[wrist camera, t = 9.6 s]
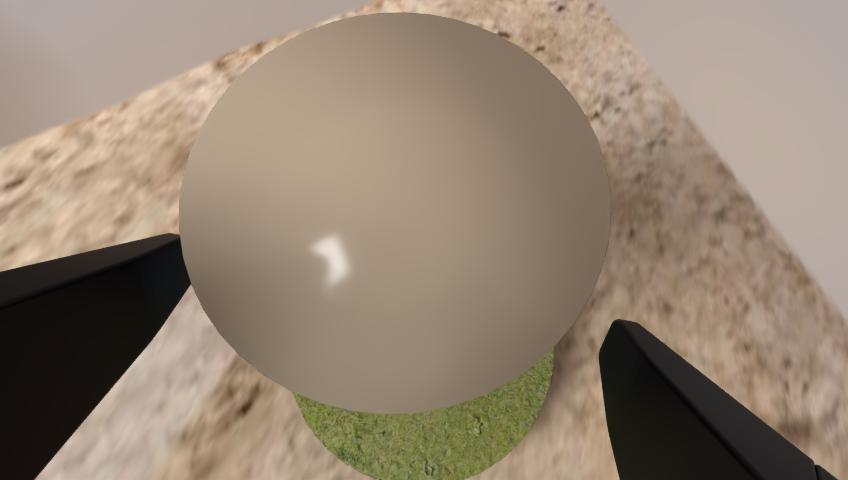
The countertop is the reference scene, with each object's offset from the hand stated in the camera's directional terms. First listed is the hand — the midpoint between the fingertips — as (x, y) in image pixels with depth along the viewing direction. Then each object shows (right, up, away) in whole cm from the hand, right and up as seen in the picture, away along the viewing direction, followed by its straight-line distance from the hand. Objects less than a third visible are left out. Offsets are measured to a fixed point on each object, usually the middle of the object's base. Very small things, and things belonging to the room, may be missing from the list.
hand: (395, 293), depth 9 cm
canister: (0, -2, +9) cm, 9 cm away
